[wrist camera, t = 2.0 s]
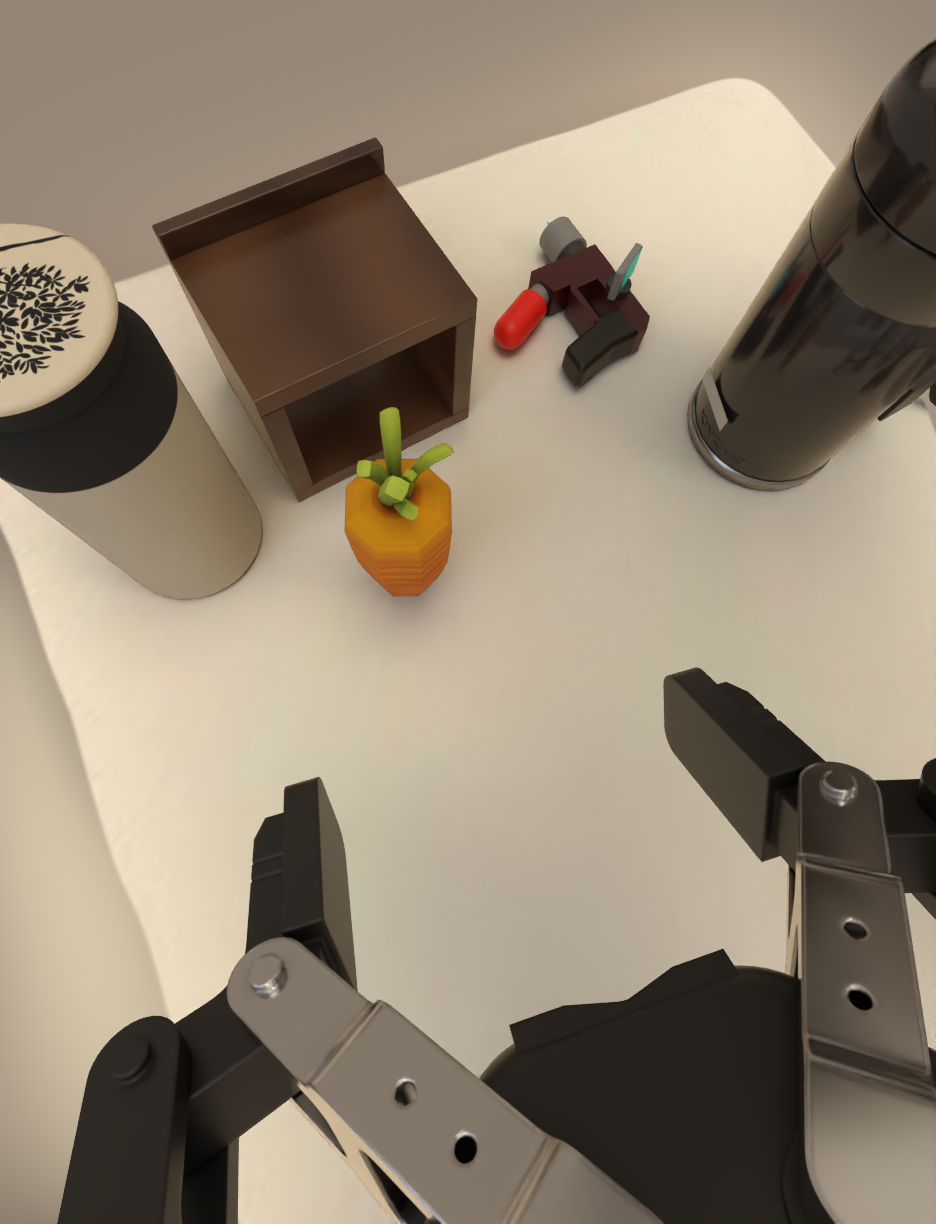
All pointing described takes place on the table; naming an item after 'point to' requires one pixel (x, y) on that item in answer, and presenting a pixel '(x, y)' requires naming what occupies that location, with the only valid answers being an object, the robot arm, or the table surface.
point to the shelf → (328, 312)
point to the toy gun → (579, 302)
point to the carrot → (400, 514)
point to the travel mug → (111, 425)
